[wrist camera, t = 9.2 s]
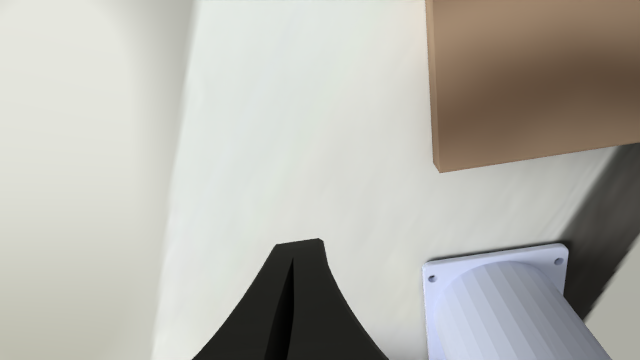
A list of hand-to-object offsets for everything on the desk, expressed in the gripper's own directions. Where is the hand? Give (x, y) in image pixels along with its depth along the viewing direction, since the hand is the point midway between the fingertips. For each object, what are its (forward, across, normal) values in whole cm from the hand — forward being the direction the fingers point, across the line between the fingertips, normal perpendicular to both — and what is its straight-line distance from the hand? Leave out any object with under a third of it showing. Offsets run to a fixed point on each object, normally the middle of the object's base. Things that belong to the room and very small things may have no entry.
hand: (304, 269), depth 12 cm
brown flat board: (+9, -13, -7) cm, 18 cm away
